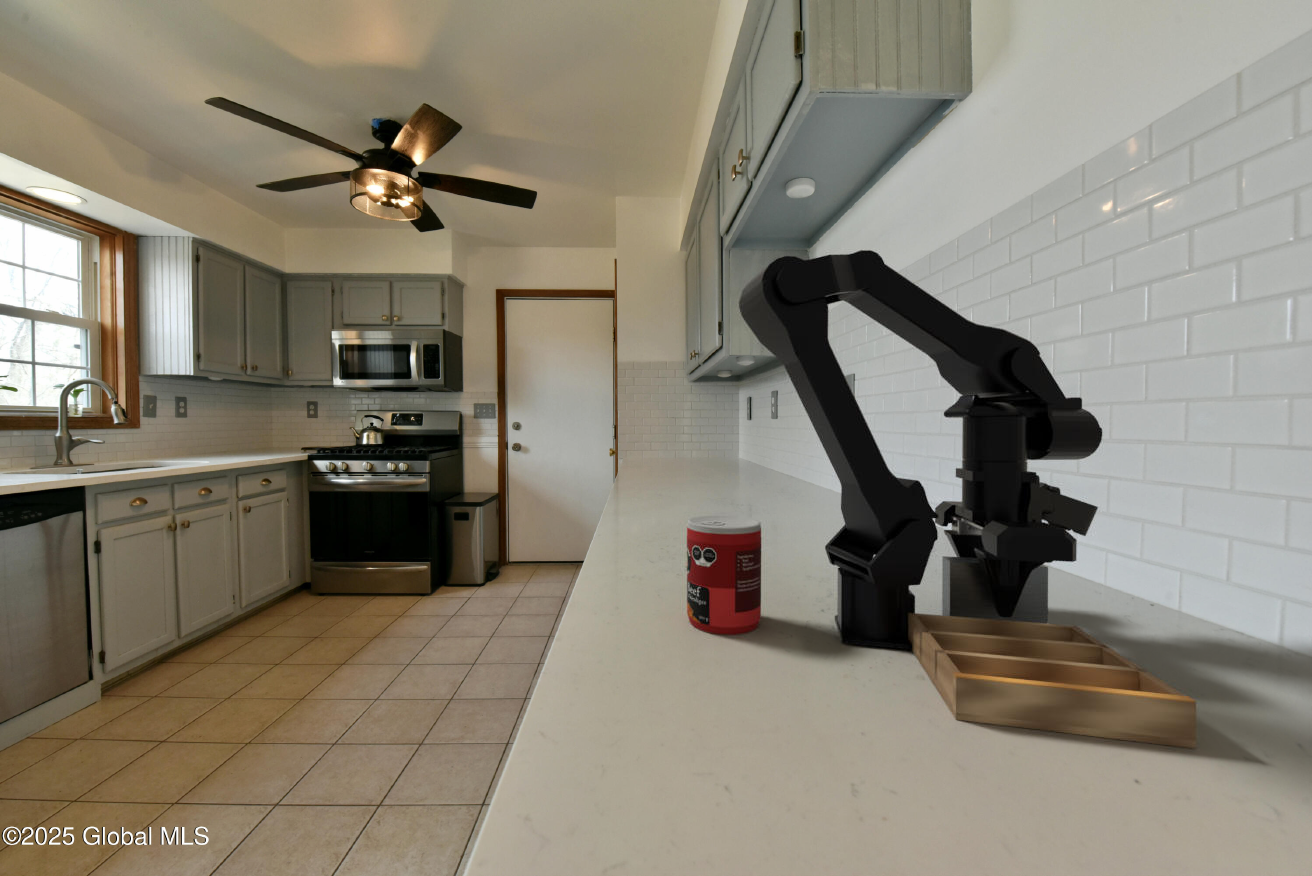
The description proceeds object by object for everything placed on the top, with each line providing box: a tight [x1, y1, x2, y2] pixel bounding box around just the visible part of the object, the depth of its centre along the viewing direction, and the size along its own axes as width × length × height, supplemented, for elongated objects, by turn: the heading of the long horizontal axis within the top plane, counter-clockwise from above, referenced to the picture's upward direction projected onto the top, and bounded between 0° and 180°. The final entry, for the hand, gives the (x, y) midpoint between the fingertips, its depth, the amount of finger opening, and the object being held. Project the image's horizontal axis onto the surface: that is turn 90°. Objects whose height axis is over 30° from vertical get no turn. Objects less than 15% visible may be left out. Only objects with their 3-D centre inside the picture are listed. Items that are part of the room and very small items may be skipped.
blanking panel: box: [941, 555, 1049, 624], centre depth 53 cm, size 9×2×7 cm, turn 77°
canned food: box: [686, 515, 762, 636], centre depth 54 cm, size 8×8×11 cm
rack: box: [908, 612, 1197, 749], centre depth 40 cm, size 14×13×3 cm
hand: (992, 607), depth 53 cm, fingers open, 5 cm apart
